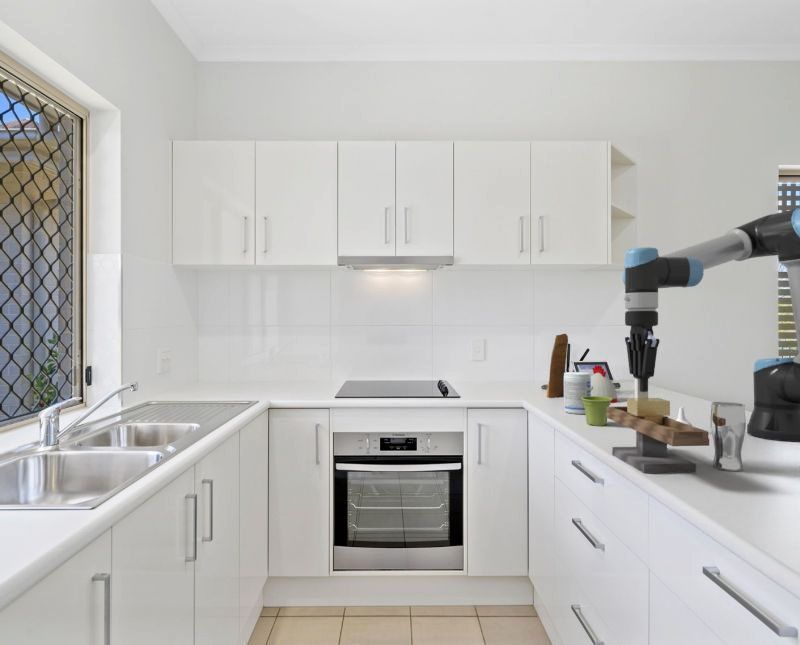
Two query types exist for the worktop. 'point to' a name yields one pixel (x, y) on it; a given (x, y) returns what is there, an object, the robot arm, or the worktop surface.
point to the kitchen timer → (602, 384)
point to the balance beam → (656, 442)
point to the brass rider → (649, 408)
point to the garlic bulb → (682, 417)
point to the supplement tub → (576, 391)
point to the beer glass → (728, 434)
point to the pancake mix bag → (557, 367)
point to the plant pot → (596, 409)
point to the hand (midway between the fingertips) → (641, 404)
